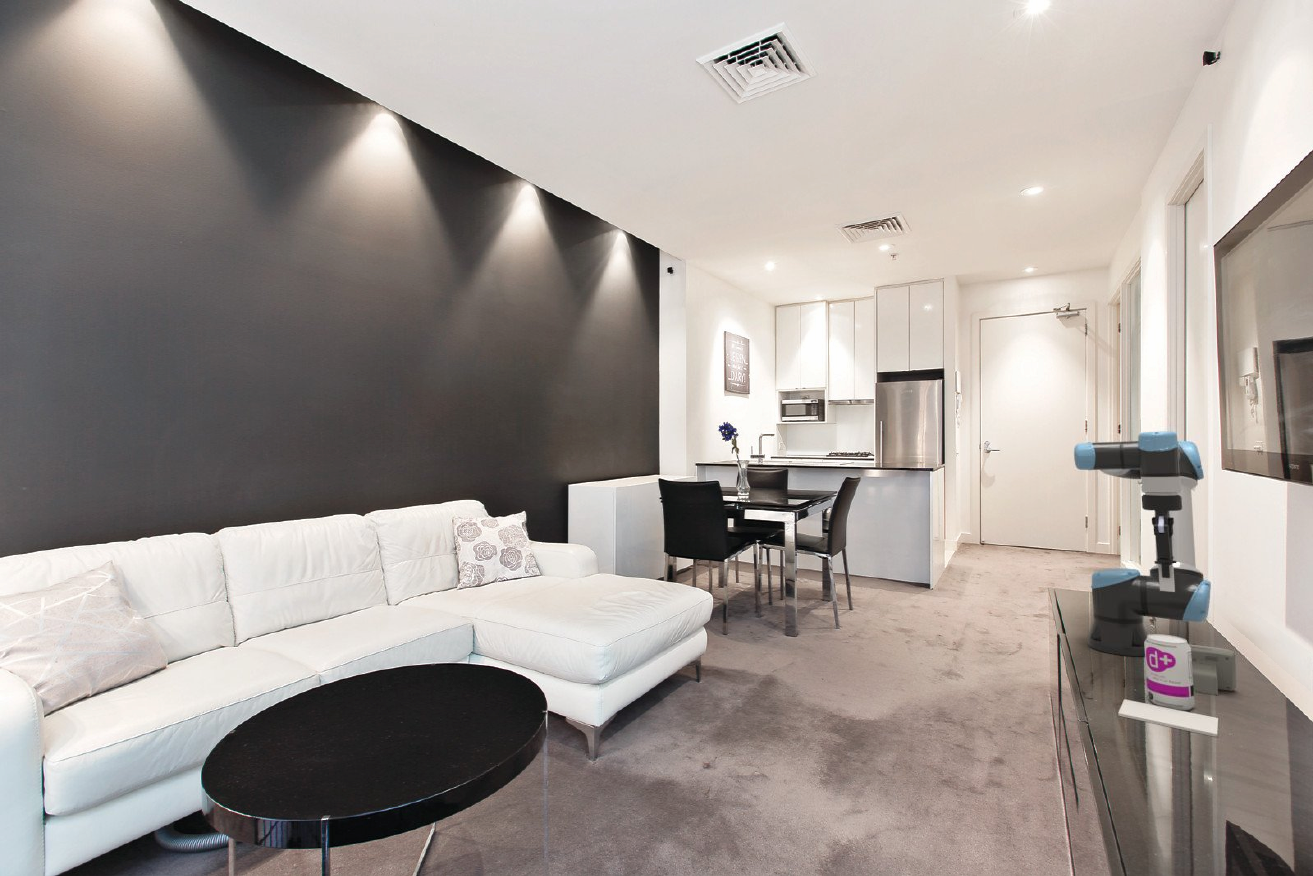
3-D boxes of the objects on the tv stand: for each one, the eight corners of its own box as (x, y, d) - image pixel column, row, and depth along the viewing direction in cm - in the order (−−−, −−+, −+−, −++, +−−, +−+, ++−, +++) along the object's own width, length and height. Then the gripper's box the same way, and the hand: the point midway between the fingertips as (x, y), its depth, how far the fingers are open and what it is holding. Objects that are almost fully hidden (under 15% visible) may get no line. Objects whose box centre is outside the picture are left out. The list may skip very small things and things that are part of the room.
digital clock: (1240, 691, 144) (1237, 646, 144) (1234, 701, 138) (1231, 655, 138) (1154, 674, 156) (1152, 633, 157) (1145, 682, 151) (1143, 640, 151)
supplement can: (1178, 713, 132) (1173, 645, 133) (1139, 700, 140) (1135, 635, 141) (1204, 708, 134) (1199, 641, 135) (1164, 695, 142) (1160, 632, 143)
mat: (1124, 702, 139) (1124, 699, 139) (1218, 721, 128) (1218, 718, 128) (1118, 715, 132) (1118, 713, 132) (1217, 737, 121) (1217, 734, 121)
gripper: (1144, 492, 154) (1150, 584, 153) (1138, 495, 144) (1144, 593, 143) (1182, 492, 149) (1189, 588, 148) (1179, 495, 139) (1186, 597, 138)
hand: (1167, 590), depth 145 cm, fingers closed
